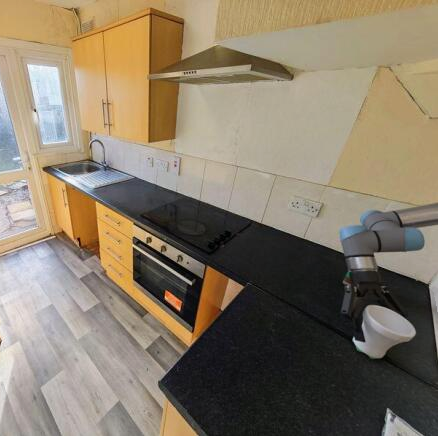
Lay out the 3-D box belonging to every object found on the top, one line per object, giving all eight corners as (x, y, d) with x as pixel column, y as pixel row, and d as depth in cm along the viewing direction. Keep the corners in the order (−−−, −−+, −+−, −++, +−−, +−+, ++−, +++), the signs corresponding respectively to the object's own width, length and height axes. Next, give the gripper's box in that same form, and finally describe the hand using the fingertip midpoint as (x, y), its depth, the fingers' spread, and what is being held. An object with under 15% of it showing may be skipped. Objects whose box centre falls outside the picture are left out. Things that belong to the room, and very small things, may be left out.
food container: (353, 294, 96) (365, 276, 92) (339, 283, 101) (349, 266, 97) (373, 289, 99) (386, 271, 95) (359, 279, 105) (370, 262, 100)
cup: (376, 339, 77) (400, 310, 71) (397, 371, 68) (427, 342, 61) (339, 329, 80) (358, 300, 74) (353, 359, 71) (377, 329, 64)
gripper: (385, 272, 80) (405, 339, 74) (318, 271, 79) (332, 338, 72) (410, 271, 73) (434, 344, 67) (337, 269, 72) (354, 344, 65)
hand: (381, 341), depth 70 cm, fingers open, 13 cm apart
